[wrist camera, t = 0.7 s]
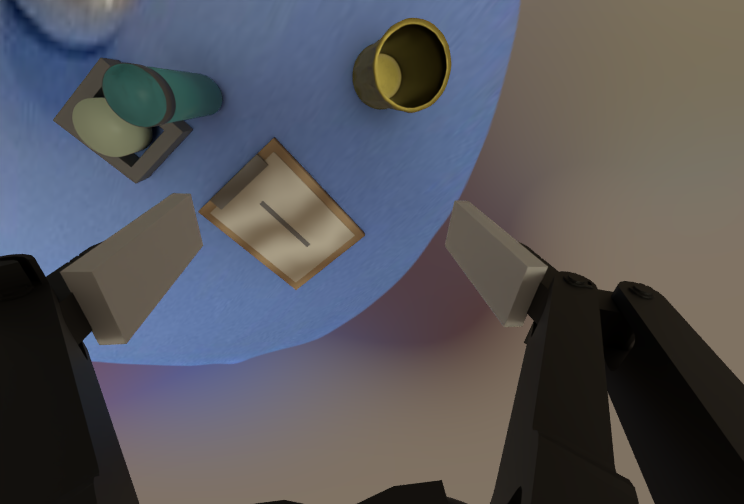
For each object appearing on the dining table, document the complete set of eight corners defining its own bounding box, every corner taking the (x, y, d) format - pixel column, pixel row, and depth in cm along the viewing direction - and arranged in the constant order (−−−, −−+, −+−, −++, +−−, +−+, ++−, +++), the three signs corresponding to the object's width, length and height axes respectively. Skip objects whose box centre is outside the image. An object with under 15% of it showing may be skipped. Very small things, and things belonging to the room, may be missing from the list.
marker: (181, 91, 30) (89, 91, 18) (205, 65, 29) (123, 48, 18) (213, 122, 31) (145, 139, 20) (235, 98, 31) (179, 101, 19)
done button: (83, 121, 28) (60, 124, 26) (113, 85, 27) (91, 84, 25) (134, 162, 31) (117, 168, 28) (163, 129, 30) (148, 132, 27)
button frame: (73, 118, 30) (52, 120, 27) (118, 60, 28) (100, 57, 26) (148, 177, 33) (135, 183, 31) (193, 129, 31) (182, 132, 29)
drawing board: (200, 209, 36) (195, 213, 34) (274, 137, 33) (272, 138, 32) (296, 286, 43) (295, 292, 41) (364, 232, 40) (365, 237, 39)
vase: (398, 115, 33) (438, 130, 21) (346, 100, 32) (356, 105, 19) (416, 54, 31) (473, 28, 18) (359, 34, 29) (380, -9, 17)
